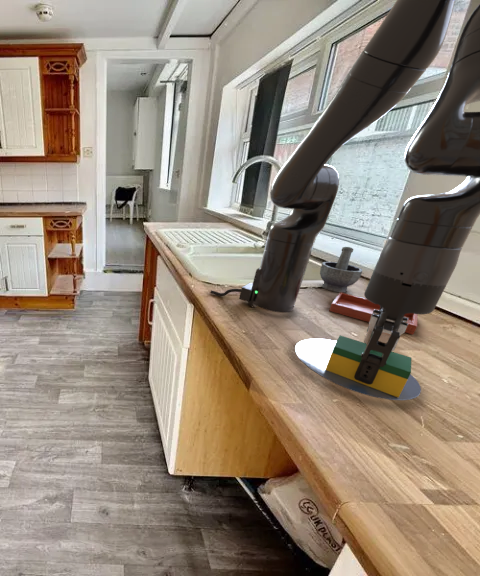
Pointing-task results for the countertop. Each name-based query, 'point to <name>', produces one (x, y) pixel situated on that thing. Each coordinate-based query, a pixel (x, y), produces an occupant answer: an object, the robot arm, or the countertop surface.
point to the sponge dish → (364, 309)
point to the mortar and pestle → (340, 272)
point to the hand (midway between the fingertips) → (364, 372)
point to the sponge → (387, 378)
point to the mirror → (317, 358)
